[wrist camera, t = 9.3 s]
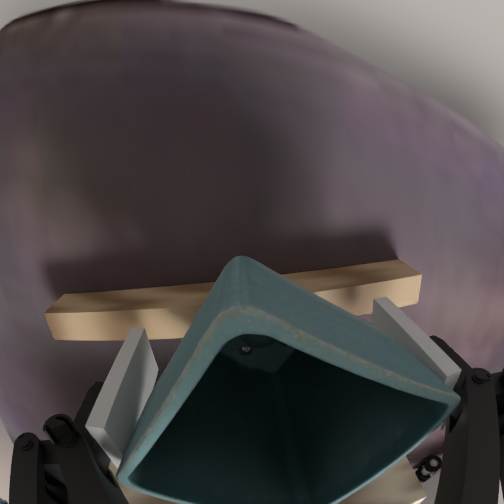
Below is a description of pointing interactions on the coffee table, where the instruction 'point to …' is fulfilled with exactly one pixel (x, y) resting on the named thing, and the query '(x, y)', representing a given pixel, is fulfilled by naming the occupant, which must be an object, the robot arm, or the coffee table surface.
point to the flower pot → (279, 400)
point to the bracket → (429, 478)
